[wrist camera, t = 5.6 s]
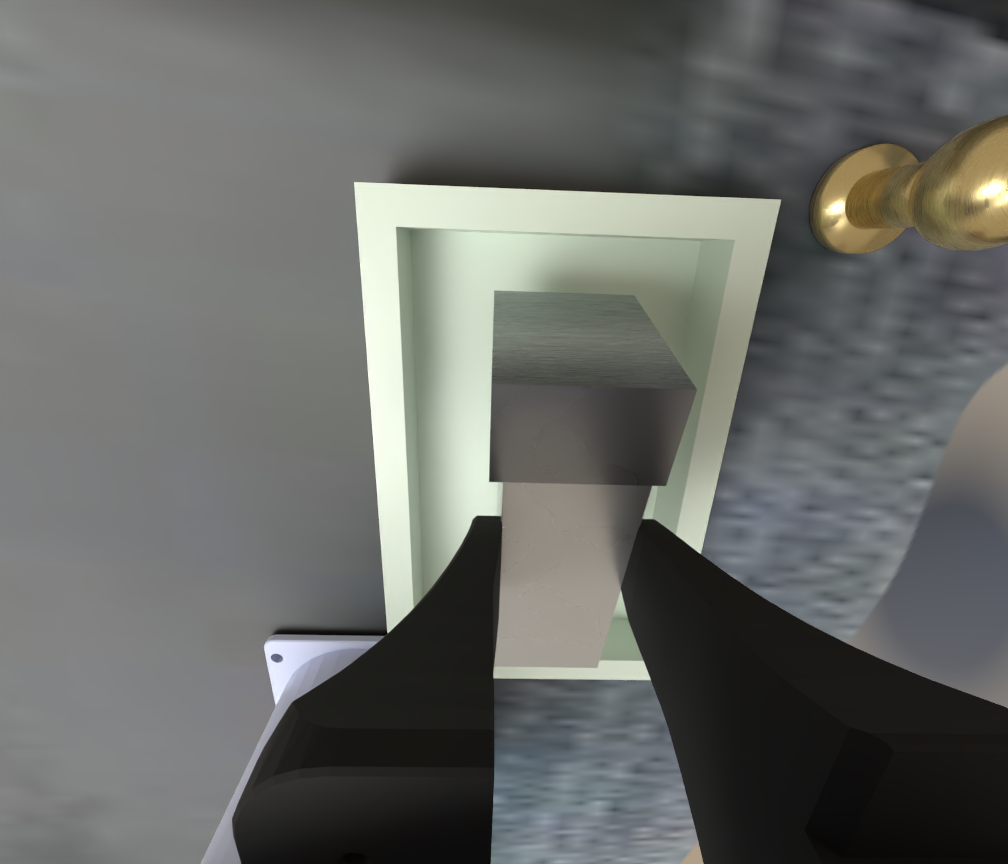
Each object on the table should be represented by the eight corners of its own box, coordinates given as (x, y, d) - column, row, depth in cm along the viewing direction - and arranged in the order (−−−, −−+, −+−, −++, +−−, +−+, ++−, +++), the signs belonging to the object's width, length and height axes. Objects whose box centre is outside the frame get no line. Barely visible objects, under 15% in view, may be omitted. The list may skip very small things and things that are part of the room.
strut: (583, 542, 19) (606, 668, 14) (488, 540, 18) (484, 666, 14) (634, 295, 13) (697, 389, 9) (493, 290, 13) (491, 383, 9)
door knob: (887, 255, 15) (1089, 259, 10) (798, 251, 15) (955, 254, 10) (921, 150, 14) (1166, 93, 9) (824, 145, 14) (1016, 86, 9)
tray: (650, 626, 21) (672, 680, 18) (403, 623, 21) (390, 677, 18) (730, 207, 15) (781, 199, 12) (379, 193, 14) (354, 182, 12)
